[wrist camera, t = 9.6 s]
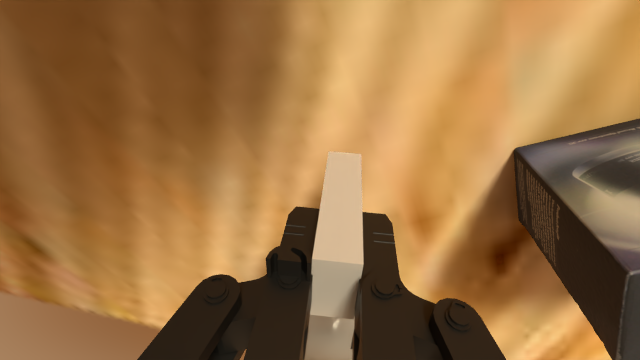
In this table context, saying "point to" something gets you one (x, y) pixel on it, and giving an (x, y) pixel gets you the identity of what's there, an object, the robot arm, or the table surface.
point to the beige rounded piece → (329, 338)
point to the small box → (589, 224)
